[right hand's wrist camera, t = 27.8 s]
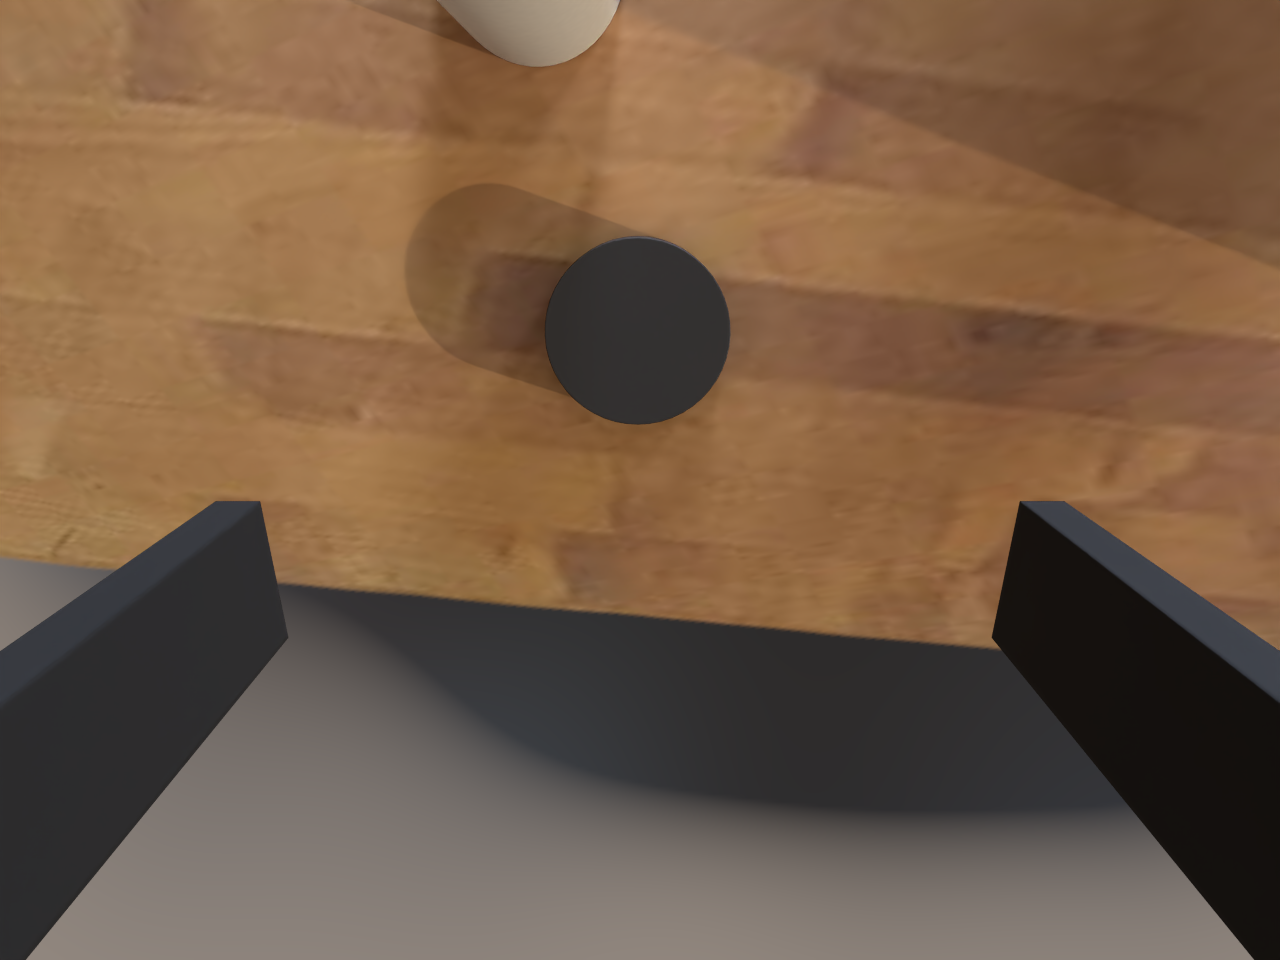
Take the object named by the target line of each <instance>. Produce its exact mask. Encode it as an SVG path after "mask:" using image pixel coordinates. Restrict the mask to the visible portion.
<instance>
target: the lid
mask: <svg viewBox="0 0 1280 960" xmlns="http://www.w3.org/2000/svg"><path fill="white" fill-rule="evenodd" d="M545 340H546V348H547V352H548V356H549V360H550V363H551V365H552V368H553V370H554V372H555V374H556V376H557V378H558V379H559V381H560V383H561V384H562V385H563V387H564V388H565V390H566V391H567V392H568V393H569V394H570V395H571V396H572V397H573V398H574V399H575V400H576V401H577V402H578V403H579V404H581V405H582V406H583V407H585V408H586V409H588V410H589V411H591V412H592V413H594V414H596V415H599V416H601V417H603V418H605V419H608V420H612V421H615V422H620V423H625V424H651V423H656V422H661V421H664V420H667V419H670V418H673V417H675V416H677V415H679V414H681V413H683V412H685V411H686V410H688V409H689V408H691V407H692V406H694V405H695V404H696V403H697V402H698V401H700V400H701V399H702V398H703V397H704V396H705V395H706V393H707V392H708V391H709V390H710V389H711V387H712V386H713V385H714V383H715V382H716V380H717V378H718V377H719V375H720V373H721V371H722V369H723V366H724V363H725V361H726V358H727V354H728V349H729V343H730V319H729V313H728V308H727V305H726V301H725V298H724V296H723V294H722V291H721V289H720V287H719V285H718V284H717V282H716V281H715V279H714V277H713V276H712V275H711V273H710V272H709V271H708V270H707V269H706V267H705V266H704V265H703V264H701V263H700V262H699V261H698V260H697V259H696V258H695V257H694V256H693V255H691V254H690V253H689V252H687V251H686V250H684V249H683V248H681V247H679V246H677V245H675V244H673V243H670V242H668V241H665V240H662V239H657V238H653V237H644V236H631V237H623V238H618V239H613V240H611V241H608V242H605V243H602V244H600V245H598V246H597V247H595V248H593V249H591V250H590V251H588V252H587V253H585V254H584V255H583V256H581V257H580V258H579V259H578V260H577V261H576V262H575V263H574V264H573V265H572V266H571V267H569V269H568V270H567V271H566V272H565V274H564V275H563V276H562V278H561V279H560V281H559V282H558V284H557V286H556V287H555V290H554V292H553V294H552V297H551V299H550V302H549V306H548V309H547V314H546V321H545Z"/></svg>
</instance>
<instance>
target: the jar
mask: <svg viewBox="0 0 1280 960" xmlns="http://www.w3.org/2000/svg"><path fill="white" fill-rule="evenodd" d="M437 1H438V2H439V3H440V4H441V5H442V6H443V7H444V8H445V9H446V10H447V11H448V12H449V13H450V14H451V15H452V16H453V17H454V18H455V19H456V21H457V22H458V23H459V24H460V25H461V26H462V27H463V28H464V29H465V30H466V31H467V32H468V33H469V34H470V35H471V36H472V37H473V38H474V39H475V40H476V41H477V42H479V43H480V44H481V45H482V46H483V47H484V48H486V49H487V50H489V51H490V52H492V53H493V54H495V55H496V56H498V57H500V58H502V59H504V60H506V61H509V62H512V63H515V64H519V65H524V66H530V67H544V66H552V65H556V64H560V63H563V62H566V61H568V60H570V59H572V58H575V57H576V56H578V55H579V54H581V53H583V52H584V51H586V50H587V49H588V48H589V47H590V46H591V45H593V44H594V43H595V42H596V41H597V39H598V38H599V37H600V36H601V35H602V34H603V32H604V31H605V30H606V28H607V27H608V25H609V24H610V22H611V20H612V18H613V16H614V14H615V12H616V10H617V7H618V4H619V2H620V0H437Z"/></svg>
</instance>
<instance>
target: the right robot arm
mask: <svg viewBox="0 0 1280 960" xmlns="http://www.w3.org/2000/svg"><path fill="white" fill-rule="evenodd" d="M287 639H288V634H287V629H286V624H285V619H284V615H283V610H282V605H281V600H280V595H279V590H278V585H277V581H276V576H275V571H274V566H273V561H272V556H271V552H270V547H269V542H268V537H267V532H266V527H265V523H264V518H263V513H262V508H261V503H260V501H215V502H214V503H213V504H211V505H210V506H208V507H207V508H205V509H204V510H203V511H201V512H200V513H198V514H197V515H195V516H194V517H192V518H191V519H190V520H188V521H187V522H185V523H184V524H182V525H181V526H180V527H178V528H177V529H175V530H174V531H172V532H171V533H169V534H168V535H167V536H165V537H164V538H162V539H161V540H159V541H158V542H157V543H155V544H154V545H152V546H151V547H149V548H148V549H146V550H145V551H144V552H142V553H141V554H139V555H138V556H136V557H135V558H134V559H132V560H131V561H129V562H128V563H126V564H125V565H123V566H122V567H121V568H119V569H118V570H116V571H115V572H113V573H112V574H111V575H109V576H108V577H106V578H105V579H103V580H102V581H100V582H99V583H98V584H96V585H95V586H93V587H92V588H90V589H89V590H88V591H86V592H85V593H83V594H82V595H80V596H79V597H77V598H76V599H75V600H73V601H72V602H70V603H69V604H67V605H66V606H65V607H63V608H62V609H60V610H59V611H57V612H56V613H54V614H53V615H52V616H50V617H49V618H47V619H46V620H44V621H43V622H42V623H40V624H39V625H37V626H36V627H34V628H33V629H31V630H30V631H29V632H27V633H26V634H24V635H23V636H21V637H20V638H19V639H17V640H16V641H14V642H13V643H11V644H10V645H8V646H7V647H6V648H4V649H3V650H1V651H0V960H26V959H27V957H28V956H29V955H30V954H31V953H32V951H33V950H34V949H35V948H36V947H37V945H38V944H39V943H40V942H41V940H42V939H43V938H44V937H45V935H46V934H47V933H48V932H49V931H50V929H51V928H52V927H53V926H54V924H55V923H56V922H57V921H58V920H59V918H60V917H61V916H62V915H63V913H64V912H65V911H66V910H67V909H68V907H69V906H70V905H71V904H72V902H73V901H74V900H75V899H76V897H77V896H78V895H79V894H80V893H81V891H82V890H83V889H84V888H85V886H86V885H87V884H88V883H89V881H90V880H91V879H92V878H93V877H94V875H95V874H96V873H97V872H98V870H99V869H100V868H101V867H102V866H103V864H104V863H105V862H106V861H107V859H108V858H109V857H110V856H111V855H112V853H113V852H114V851H115V850H116V848H117V847H118V846H119V845H120V844H121V842H122V841H123V840H124V839H125V837H126V836H127V835H128V834H129V832H130V831H131V830H132V829H133V828H134V826H135V825H136V824H137V823H138V821H139V820H140V819H141V818H142V817H143V815H144V814H145V813H146V812H147V810H148V809H149V808H150V807H151V805H152V804H153V803H154V802H155V801H156V799H157V798H158V797H159V796H160V794H161V793H162V792H163V791H164V790H165V788H166V787H167V786H168V785H169V783H170V782H171V781H172V780H173V778H174V777H175V776H176V775H177V774H178V772H179V771H180V770H181V769H182V767H183V766H184V765H185V764H186V763H187V761H188V760H189V759H190V758H191V756H192V755H193V754H194V753H195V751H196V750H197V749H198V748H199V747H200V745H201V744H202V743H203V742H204V740H205V739H206V738H207V737H208V735H209V734H210V733H211V732H212V731H213V729H214V728H215V727H216V726H217V724H218V723H219V722H220V721H221V720H222V718H223V717H224V716H225V715H226V713H227V712H228V711H229V710H230V709H231V707H232V706H233V705H234V704H235V702H236V701H237V700H238V699H239V697H240V696H241V695H242V694H243V693H244V691H245V690H246V689H247V688H248V686H249V685H250V684H251V683H252V682H253V680H254V679H255V678H256V677H257V675H258V674H259V673H260V672H261V670H262V669H263V668H264V667H265V666H266V664H267V663H268V662H269V661H270V660H271V658H272V657H273V656H274V655H275V653H276V652H277V651H278V650H279V648H280V647H281V646H282V645H283V644H284V642H285V641H286V640H287ZM992 639H993V640H994V641H995V642H996V644H997V645H998V646H999V647H1000V648H1001V650H1002V651H1003V652H1004V653H1005V655H1006V656H1007V657H1008V658H1009V660H1010V661H1011V662H1012V663H1013V664H1014V666H1015V667H1016V668H1017V669H1018V671H1019V672H1020V673H1021V674H1022V675H1023V677H1024V678H1025V679H1026V680H1027V682H1028V683H1029V684H1030V685H1031V686H1032V688H1033V689H1034V690H1035V691H1036V693H1037V694H1038V695H1039V696H1040V697H1041V699H1042V700H1043V701H1044V702H1045V704H1046V705H1047V706H1048V707H1049V709H1050V710H1051V711H1052V712H1053V713H1054V715H1055V716H1056V717H1057V718H1058V720H1059V721H1060V722H1061V723H1062V725H1063V726H1064V727H1065V728H1066V729H1067V731H1068V732H1069V733H1070V734H1071V735H1072V737H1073V738H1074V739H1075V740H1076V742H1077V743H1078V744H1079V745H1080V747H1081V748H1082V749H1083V750H1084V752H1085V753H1086V754H1087V755H1088V756H1089V758H1090V759H1091V760H1092V761H1093V763H1094V764H1095V765H1096V766H1097V767H1098V769H1099V770H1100V771H1101V772H1102V774H1103V775H1104V776H1105V777H1106V778H1107V780H1108V781H1109V782H1110V783H1111V785H1112V786H1113V787H1114V788H1115V790H1116V791H1117V792H1118V793H1119V794H1120V796H1121V797H1122V798H1123V799H1124V800H1125V802H1126V803H1127V804H1128V805H1129V807H1130V808H1131V809H1132V810H1133V812H1134V813H1135V814H1136V815H1137V817H1138V818H1139V819H1140V820H1141V821H1142V823H1143V824H1144V825H1145V826H1146V828H1147V829H1148V830H1149V831H1150V832H1151V834H1152V835H1153V836H1154V837H1155V839H1156V840H1157V841H1158V842H1159V844H1160V845H1161V846H1162V847H1163V848H1164V850H1165V851H1166V852H1167V853H1168V855H1169V856H1170V857H1171V858H1172V859H1173V861H1174V862H1175V863H1176V864H1177V866H1178V867H1179V868H1180V869H1181V870H1182V872H1183V873H1184V874H1185V875H1186V877H1187V878H1188V879H1189V880H1190V881H1191V883H1192V884H1193V885H1194V886H1195V888H1196V889H1197V890H1198V891H1199V893H1200V894H1201V895H1202V896H1203V897H1204V899H1205V900H1206V901H1207V902H1208V904H1209V905H1210V906H1211V907H1212V909H1213V910H1214V911H1215V912H1216V913H1217V915H1218V916H1219V917H1220V918H1221V919H1222V921H1223V922H1224V923H1225V924H1226V926H1227V927H1228V928H1229V929H1230V931H1231V932H1232V933H1233V934H1234V936H1235V937H1236V938H1237V939H1238V940H1239V942H1240V943H1241V944H1242V945H1243V947H1244V948H1245V949H1246V950H1247V951H1248V953H1249V954H1250V955H1251V956H1252V958H1253V959H1254V960H1280V651H1279V650H1277V649H1276V648H1274V647H1273V646H1272V645H1270V644H1269V643H1267V642H1266V641H1264V640H1263V639H1261V638H1260V637H1259V636H1257V635H1256V634H1254V633H1253V632H1251V631H1250V630H1249V629H1247V628H1246V627H1244V626H1243V625H1241V624H1240V623H1238V622H1237V621H1236V620H1234V619H1233V618H1231V617H1230V616H1228V615H1227V614H1226V613H1224V612H1223V611H1221V610H1220V609H1218V608H1217V607H1215V606H1214V605H1213V604H1211V603H1210V602H1208V601H1207V600H1205V599H1204V598H1203V597H1201V596H1200V595H1198V594H1197V593H1195V592H1194V591H1192V590H1191V589H1190V588H1188V587H1187V586H1185V585H1184V584H1182V583H1181V582H1180V581H1178V580H1177V579H1175V578H1174V577H1172V576H1171V575H1169V574H1168V573H1167V572H1165V571H1164V570H1162V569H1161V568H1159V567H1158V566H1157V565H1155V564H1154V563H1152V562H1151V561H1149V560H1148V559H1146V558H1145V557H1144V556H1142V555H1141V554H1139V553H1138V552H1136V551H1135V550H1134V549H1132V548H1131V547H1129V546H1128V545H1126V544H1125V543H1123V542H1122V541H1121V540H1119V539H1118V538H1116V537H1115V536H1113V535H1112V534H1111V533H1109V532H1108V531H1106V530H1105V529H1103V528H1102V527H1100V526H1099V525H1098V524H1096V523H1095V522H1093V521H1092V520H1090V519H1089V518H1088V517H1086V516H1085V515H1083V514H1082V513H1080V512H1079V511H1077V510H1076V509H1075V508H1073V507H1072V506H1070V505H1069V504H1067V503H1066V502H1065V501H1020V503H1019V508H1018V513H1017V518H1016V523H1015V527H1014V532H1013V537H1012V542H1011V547H1010V552H1009V556H1008V561H1007V566H1006V571H1005V576H1004V581H1003V585H1002V590H1001V595H1000V600H999V605H998V610H997V614H996V619H995V624H994V629H993V634H992Z"/></svg>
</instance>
